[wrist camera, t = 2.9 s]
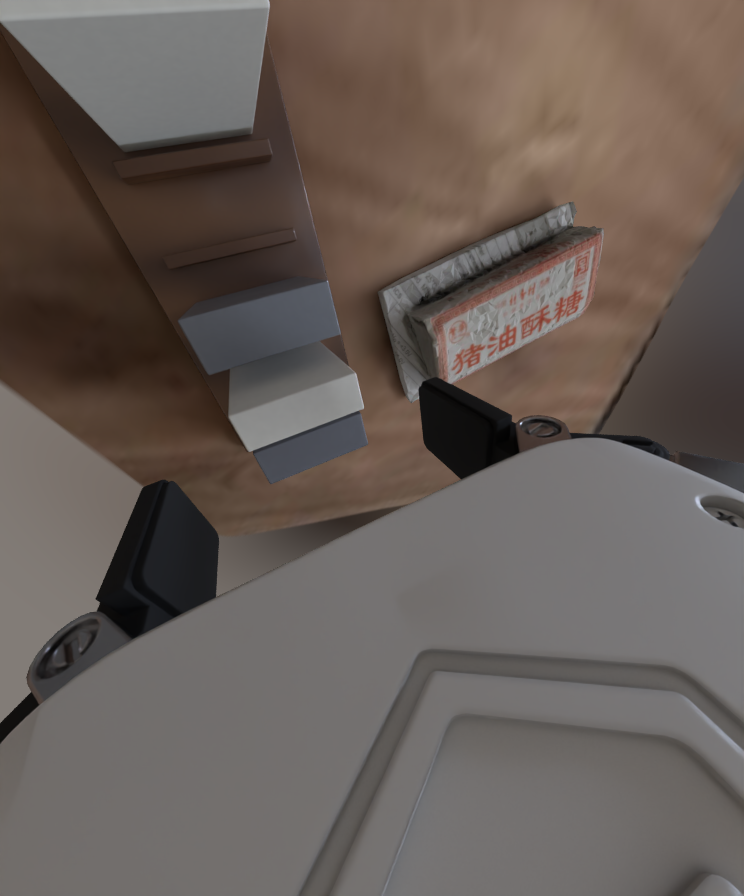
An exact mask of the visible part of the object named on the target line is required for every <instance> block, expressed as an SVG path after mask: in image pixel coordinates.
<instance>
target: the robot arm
mask: <svg viewBox="0 0 744 896" xmlns="http://www.w3.org/2000/svg"><path fill="white" fill-rule="evenodd" d="M418 391H419V401H420V411H421V420H422V430H423V440H424V444H425V446H426V448H427V449H428V450H429V451H431V452H432V453H433V454H434V455H435V456H436V457H437V458H438V459H439V460H440V461H442V462H443V463H444V464H445V465H446V466H447V467H448V468H449V469H450V470H452V471H453V472H454V473H455V474H456V475H457V476H458V477H459V478H460V479H461V480H459V481H457V482H455V483H453V484H451V485H449V486H447V487H445V488H442V489H440V490H438V491H436V492H434V493H432V494H430V495H428V496H425V497H423V498H421V499H419V500H417V501H415V502H413V503H411V504H409V505H406V506H404V507H402V508H400V509H398V510H396V511H394V512H392V513H390V514H388V515H385V516H383V517H381V518H379V519H377V520H375V521H373V522H371V523H369V524H367V525H364V526H362V527H360V528H358V529H356V530H354V531H352V532H350V533H348V534H346V535H344V536H342V537H340V538H337V539H335V540H333V541H331V542H329V543H327V544H325V545H323V546H321V547H319V548H317V549H314V550H312V551H310V552H308V553H306V554H304V555H302V556H300V557H298V558H296V559H294V560H292V561H290V562H288V563H285V564H283V565H281V566H279V567H277V568H275V569H273V570H271V571H269V572H267V573H265V574H263V575H261V576H259V577H257V578H255V579H253V580H250V581H248V582H246V583H244V584H242V585H240V586H238V587H236V588H234V589H232V590H230V591H228V592H226V593H224V594H222V595H219V596H217V597H216V584H217V565H218V548H219V537H218V534H217V532H216V530H215V529H214V528H213V527H212V525H211V524H210V523H209V522H208V521H207V519H206V518H205V517H204V516H203V515H202V514H201V512H200V511H199V510H198V509H197V508H196V506H195V505H194V504H193V503H192V502H191V500H190V499H189V498H188V497H187V496H186V495H185V493H184V492H183V491H182V490H181V489H180V487H179V486H178V485H177V484H176V483H175V482H173V481H170V482H168V481H166V480H161V481H158V482H155V483H153V484H150V485H147V486H145V487H143V488H142V491H141V493H140V495H139V498H138V500H137V502H136V505H135V507H134V509H133V512H132V514H131V517H130V519H129V521H128V524H127V526H126V528H125V531H124V533H123V536H122V538H121V540H120V542H119V545H118V547H117V550H116V552H115V554H114V557H113V559H112V562H111V564H110V566H109V569H108V571H107V573H106V576H105V578H104V580H103V583H102V585H101V588H100V590H99V592H98V595H97V597H96V600H97V601H99V602H100V605H99V607H98V610H97V612H90V613H87V614H85V615H82V616H80V617H78V618H77V619H75V620H73V621H72V622H70V623H69V624H67V625H66V626H65V627H63V628H62V629H61V630H60V631H58V632H57V633H56V634H55V635H54V636H53V637H52V638H51V639H50V640H49V641H48V642H47V643H46V644H45V645H44V646H43V648H42V649H41V650H40V651H39V653H38V654H37V655H36V657H35V658H34V660H33V662H32V664H31V665H30V667H29V671H28V674H27V677H26V678H27V684H28V686H29V688H30V690H31V693H30V694H29V695H28V696H27V697H26V698H25V699H24V700H23V701H22V702H21V703H20V704H19V705H18V706H17V707H16V708H15V709H14V710H13V711H12V712H11V713H10V714H9V715H8V716H7V717H6V718H5V719H4V720H3V721H2V722H1V723H0V896H744V464H742V463H736V462H731V461H726V460H721V459H715V458H710V457H705V456H699V455H694V454H689V453H684V452H678V451H676V452H675V454H674V455H670V454H669V452H668V451H667V449H666V448H665V447H663V446H662V445H660V444H658V443H657V442H654V441H652V440H650V439H648V438H645V437H640V436H622V435H601V434H581V433H569V430H568V428H567V426H566V425H565V423H563V422H562V421H560V420H558V419H556V418H553V417H549V416H542V415H534V416H528V417H524V418H522V419H520V420H519V421H518V422H517V423H514V422H512V415H510V414H508V413H506V412H504V411H502V410H500V409H499V408H497V407H495V406H493V405H491V404H489V403H487V402H485V401H483V400H481V399H479V398H477V397H475V396H473V395H471V394H469V393H467V392H465V391H463V390H461V389H459V388H457V387H456V386H454V385H452V384H450V383H448V382H446V381H444V380H442V379H440V378H438V377H434V378H431V379H428V380H426V381H423V382H422V384H421V386H420V387H419V389H418Z"/></svg>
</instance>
